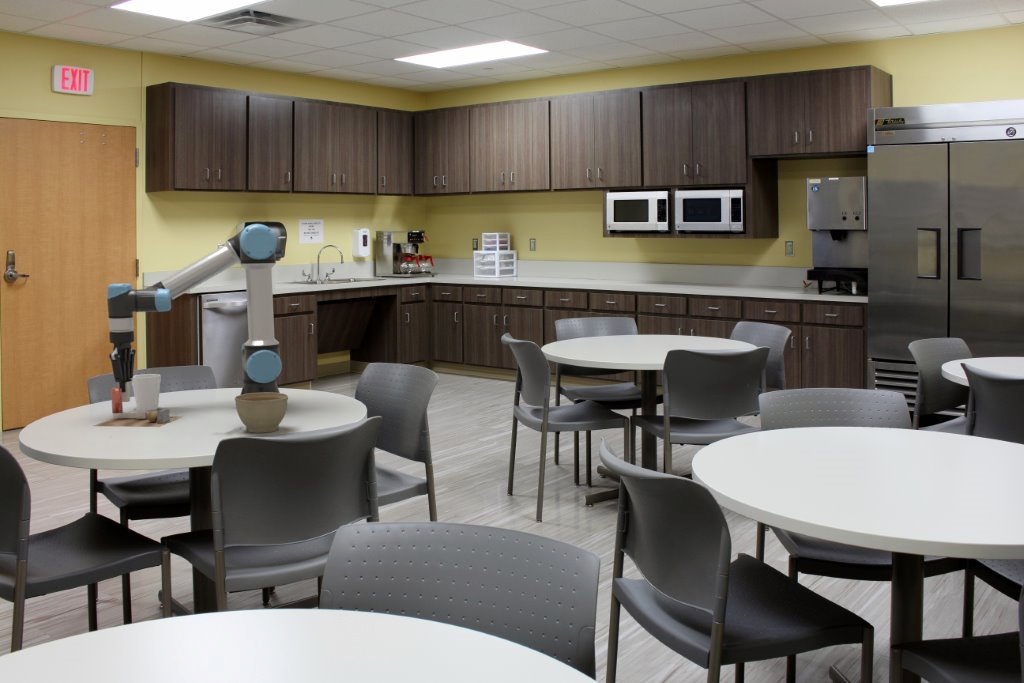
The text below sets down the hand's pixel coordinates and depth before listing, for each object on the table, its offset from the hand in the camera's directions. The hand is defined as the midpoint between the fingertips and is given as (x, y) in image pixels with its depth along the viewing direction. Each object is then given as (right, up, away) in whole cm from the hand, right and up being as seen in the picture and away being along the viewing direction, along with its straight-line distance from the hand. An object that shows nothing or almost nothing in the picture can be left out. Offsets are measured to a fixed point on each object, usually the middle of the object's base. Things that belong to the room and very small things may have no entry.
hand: (125, 401), depth 313 cm
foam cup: (+2, -5, +15) cm, 16 cm away
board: (+8, -7, -7) cm, 13 cm away
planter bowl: (+50, -8, -16) cm, 53 cm away
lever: (+6, -5, -3) cm, 9 cm away
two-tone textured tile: (+16, -6, -10) cm, 20 cm away
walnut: (+13, -4, -10) cm, 17 cm away
